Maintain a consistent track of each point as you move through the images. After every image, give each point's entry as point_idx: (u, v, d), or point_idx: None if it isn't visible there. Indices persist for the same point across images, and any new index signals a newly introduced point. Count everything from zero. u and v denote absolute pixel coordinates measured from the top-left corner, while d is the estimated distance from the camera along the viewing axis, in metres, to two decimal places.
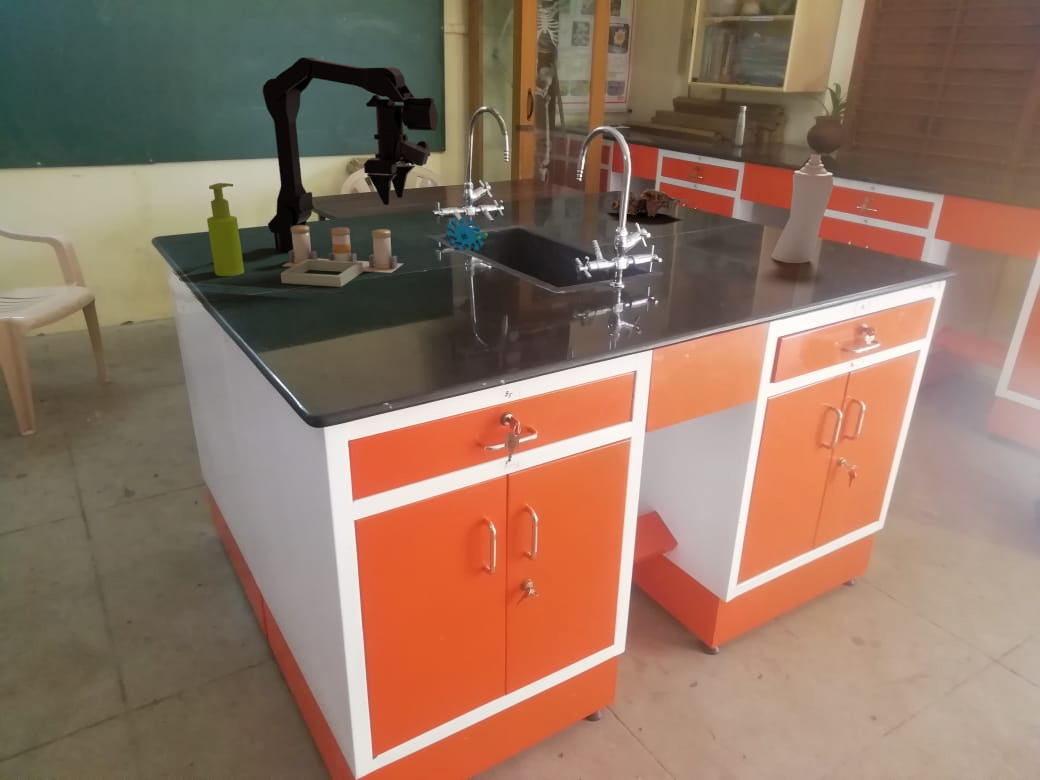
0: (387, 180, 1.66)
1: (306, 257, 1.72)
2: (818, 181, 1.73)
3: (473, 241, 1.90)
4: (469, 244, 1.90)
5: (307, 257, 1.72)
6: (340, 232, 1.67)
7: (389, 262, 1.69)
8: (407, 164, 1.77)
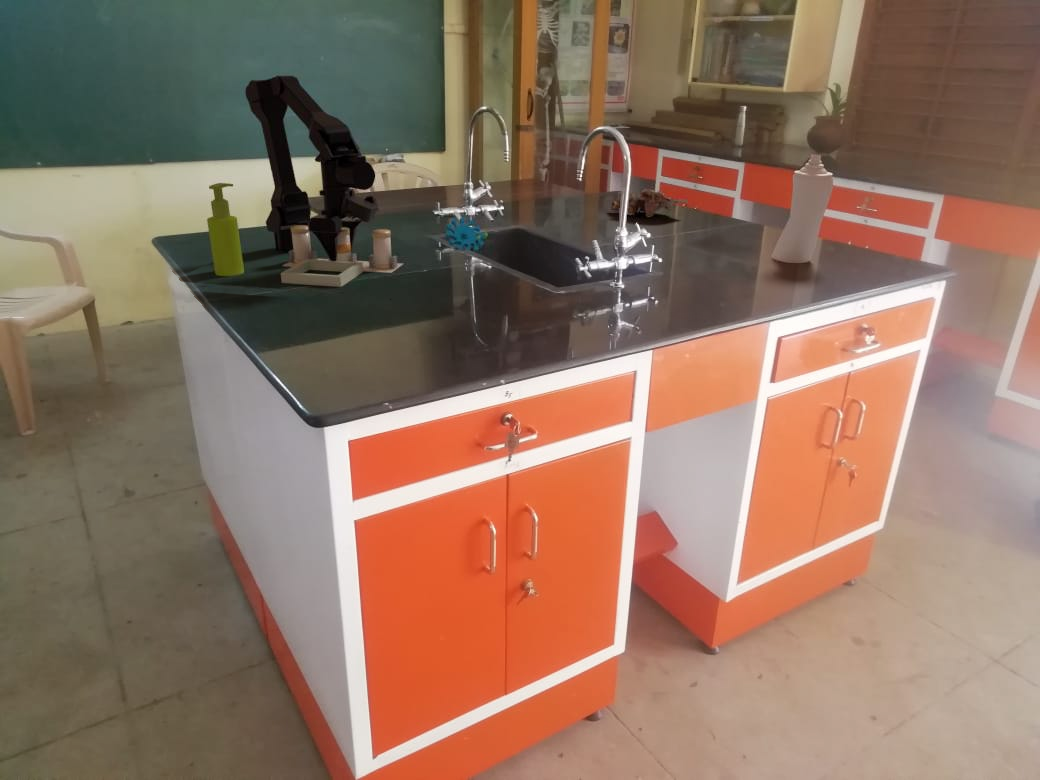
0: (333, 237, 1.63)
1: (306, 257, 1.72)
2: (818, 181, 1.73)
3: (473, 241, 1.91)
4: (469, 244, 1.90)
5: (307, 257, 1.72)
6: None
7: (389, 262, 1.69)
8: (356, 218, 1.74)
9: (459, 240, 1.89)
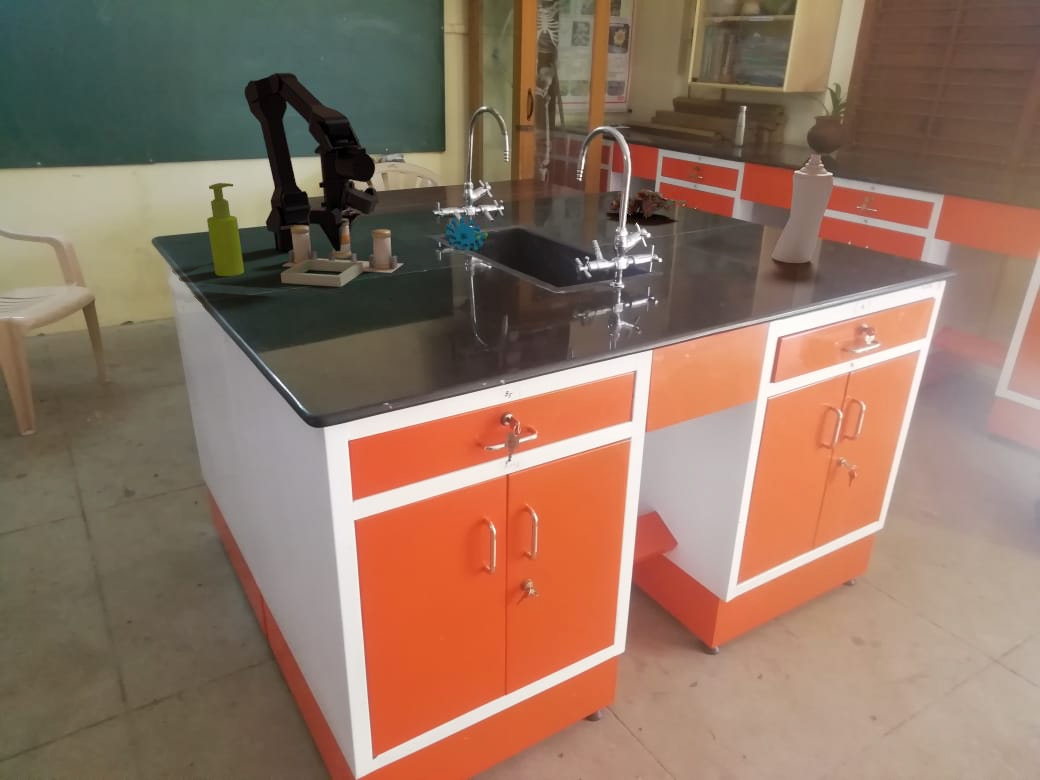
0: (337, 227, 1.64)
1: (306, 257, 1.72)
2: (818, 181, 1.73)
3: (473, 241, 1.91)
4: (468, 244, 1.90)
5: (307, 257, 1.72)
6: None
7: (389, 262, 1.69)
8: None
9: (459, 240, 1.89)
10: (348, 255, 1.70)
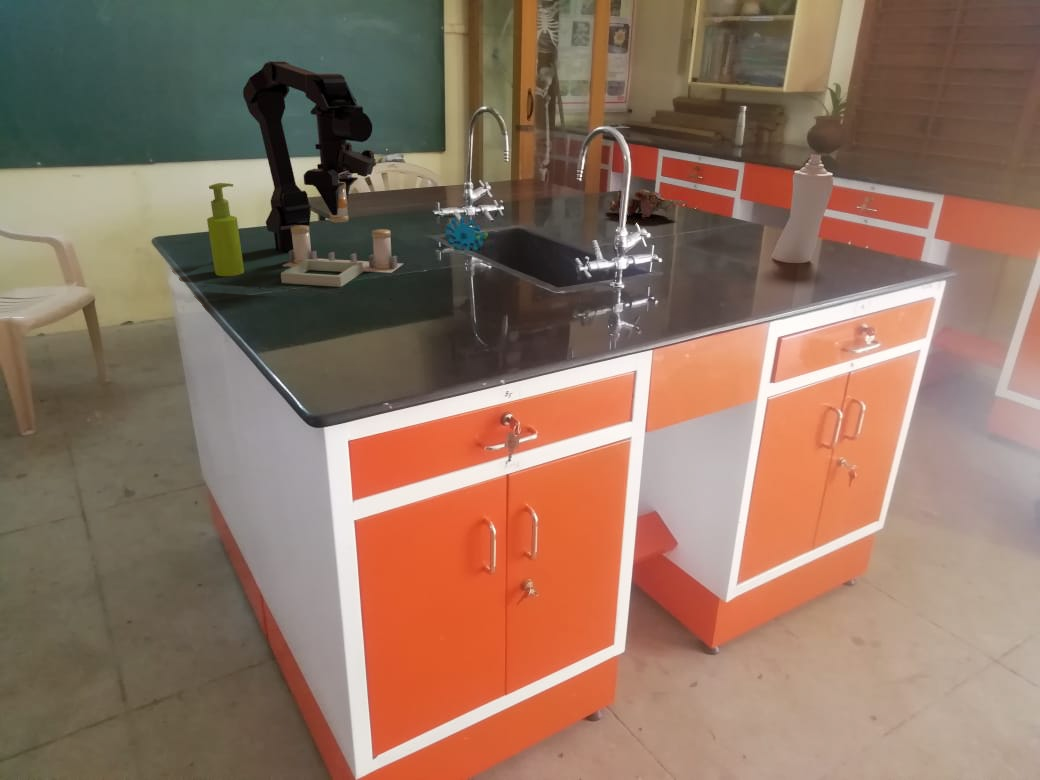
0: (334, 189, 1.61)
1: (306, 257, 1.72)
2: (818, 181, 1.73)
3: (473, 241, 1.91)
4: (468, 243, 1.90)
5: (307, 257, 1.72)
6: None
7: (389, 262, 1.69)
8: None
9: (458, 240, 1.90)
10: (345, 219, 1.67)
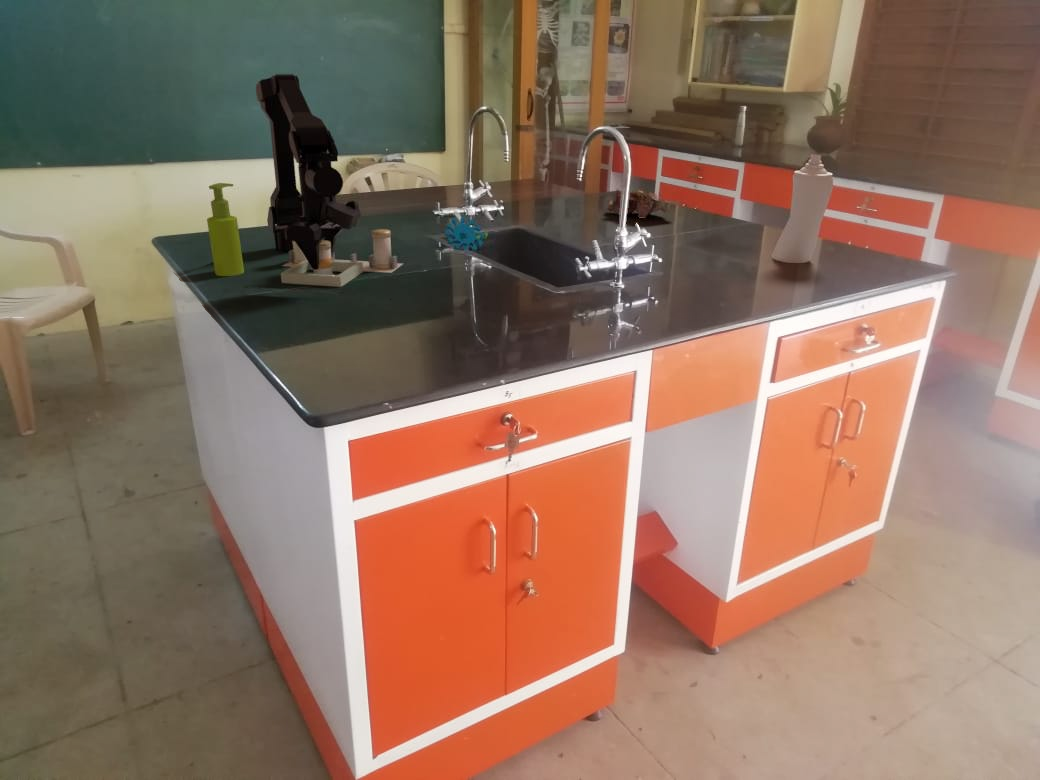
0: (314, 244, 1.54)
1: None
2: (818, 181, 1.73)
3: (472, 240, 1.91)
4: (467, 243, 1.90)
5: None
6: (320, 246, 1.58)
7: (389, 262, 1.69)
8: (338, 224, 1.64)
9: (458, 239, 1.90)
10: None
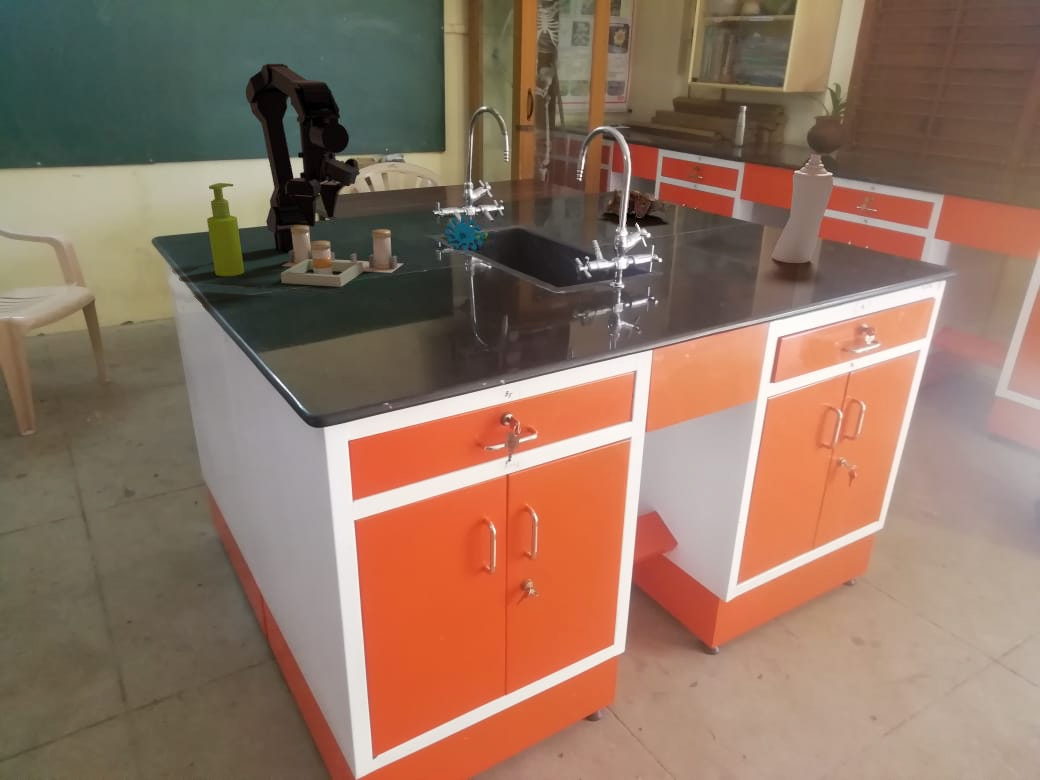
0: (311, 201, 1.58)
1: (306, 257, 1.72)
2: (818, 181, 1.73)
3: (472, 240, 1.91)
4: (467, 243, 1.91)
5: (307, 257, 1.72)
6: (320, 246, 1.58)
7: (389, 262, 1.69)
8: (338, 182, 1.69)
9: (457, 239, 1.90)
10: None
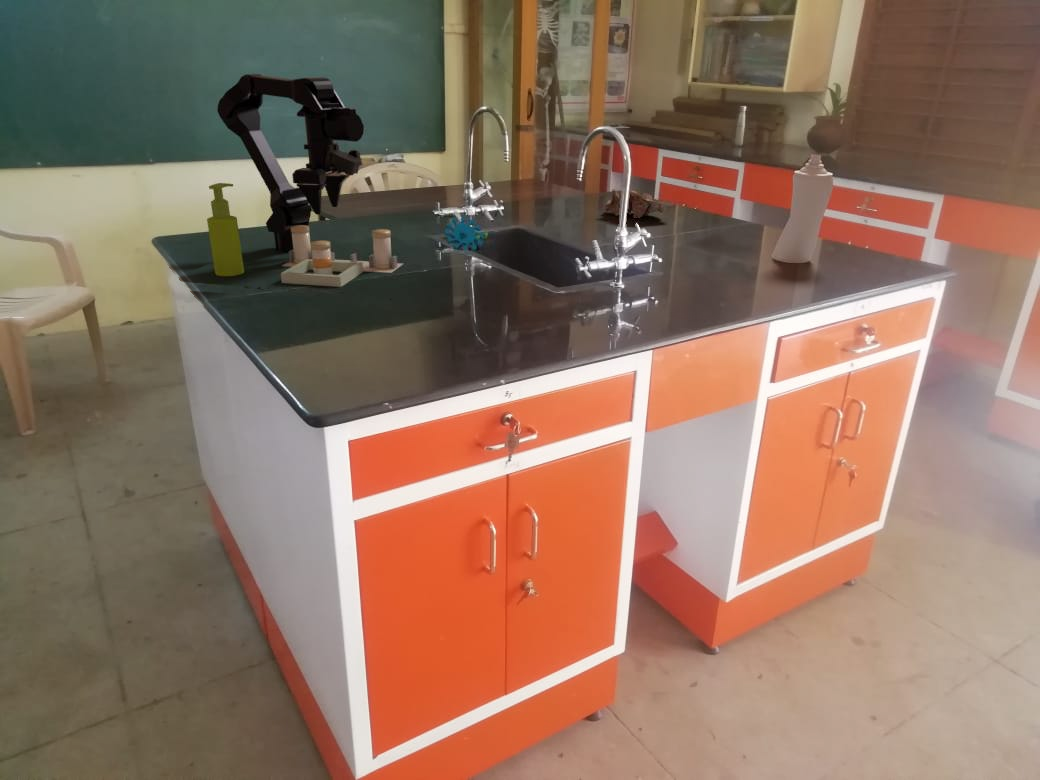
0: (317, 189, 1.67)
1: (306, 257, 1.72)
2: (818, 181, 1.73)
3: (472, 240, 1.91)
4: (467, 243, 1.91)
5: (307, 257, 1.72)
6: (320, 246, 1.58)
7: (389, 262, 1.69)
8: (341, 173, 1.78)
9: (457, 239, 1.90)
10: None
